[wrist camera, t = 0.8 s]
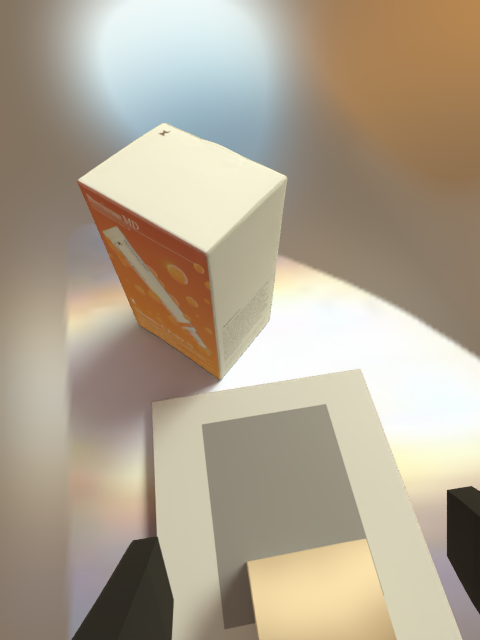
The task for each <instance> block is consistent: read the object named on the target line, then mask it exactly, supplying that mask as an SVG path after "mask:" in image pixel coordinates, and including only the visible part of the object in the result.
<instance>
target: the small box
mask: <svg viewBox="0 0 480 640" xmlns="http://www.w3.org/2000/svg"><path fill="white" fill-rule="evenodd" d="M77 182H78V185H79V187H80V189H81V191H82V194H83V196H84V198H85V200H86V202H87V205H88V207H89V210H90V212H91V214H92V217H93V219H94V221H95V224H96V226H97V228H98V231H99V233H100V235H101V238H102V240H103V242H104V245H105V247H106V249H107V252H108V254H109V256H110V259H111V261H112V264H113V266H114V268H115V271H116V273H117V275H118V277H119V280H120V282H121V284H122V287H123V289H124V291H125V294H126V296H127V298H128V301H129V303H130V306H131V308H132V310H133V313H134V315H135V317H136V320H137V322H138V324H139V325H140V326H142V327H143V328H145V329H147V330H148V331H150V332H152V333H153V334H155V335H156V336H158V337H159V338H161V339H162V340H164V341H165V342H167V343H168V344H169V345H171V346H172V347H174V348H175V349H177V350H178V351H180V352H181V353H183V354H184V355H186V356H187V357H188V358H190V359H191V360H193V361H194V362H196V363H197V364H198V365H200V366H201V367H203V368H204V369H205V370H207V371H208V372H210V373H211V374H212V375H214V376H215V377H217V378H218V379H220V380H221V379H222V378H223V377H224V376H225V375H226V373H227V372H228V371H229V370H230V368H231V367H232V366H233V365H234V363H235V362H236V361H237V360H238V359H239V357H240V356H241V355H242V354H243V352H244V351H245V350H246V349H247V347H248V346H249V345H250V344H251V343H252V341H253V340H254V339H255V338H256V336H257V335H258V334H259V333H260V332H261V330H262V329H263V328H264V327H265V325H266V324H267V323H268V322H269V319H270V313H271V305H272V297H273V289H274V281H275V272H276V263H277V255H278V246H279V239H280V230H281V222H282V221H281V220H282V213H283V206H284V197H285V190H286V183H287V177H286V176H285V175H282V174H280V173H278V172H276V171H274V170H272V169H269V168H267V167H265V166H263V165H260V164H258V163H256V162H254V161H251V160H249V159H247V158H245V157H243V156H241V155H239V154H237V153H235V152H233V151H231V150H229V149H227V148H225V147H223V146H221V145H218V144H216V143H213V142H209V141H206V140H204V139H201V138H198V137H196V136H194V135H192V134H189V133H187V132H184V131H182V130H180V129H177V128H175V127H173V126H171V125H169V124H166V123H163V124H161V125H159V126H157V127H156V128H154V129H152V130H151V131H149V132H148V133H146V134H144V135H143V136H141V137H140V138H138V139H137V140H135V141H134V142H132V143H131V144H129V145H128V146H127V147H125V148H123V149H122V150H120V151H119V152H118V153H116V154H115V155H113V156H112V157H110V158H109V159H108V160H106V161H104V162H103V163H101V164H100V165H98V166H97V167H96V168H94V169H93V170H91V171H90V172H88V173H87V174H86V175H84V176H83V177H81V178H80V179H78V181H77Z"/></svg>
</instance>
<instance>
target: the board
mask: <svg viewBox="0 0 480 640" xmlns="http://www.w3.org/2000/svg"><path fill="white" fill-rule="evenodd" d="M152 420H153V446H154V471H155V497H156V523H157V537H158V540H159V544H160V548H161V551H162V555H163V559H164V563H165V567H166V571H167V575H168V579H169V583H170V587H171V590H172V594H173V598H174V609H173V628H172V640H258V638H257V631H256V624H255V617H254V611H253V604H252V597H251V590H250V584H249V577H248V570H247V563H246V562H248V561H253V560H258V559H263V558H268V557H273V556H278V555H283V554H288V553H293V552H298V551H303V550H308V549H313V548H318V547H323V546H328V545H333V544H338V543H344V542H349V541H355V540H361V539H366V540H367V543H368V546H369V549H370V553H371V556H372V559H373V563H374V566H375V569H376V573H377V576H378V579H379V582H380V586H381V589H382V592H383V596H384V599H385V602H386V606H387V609H388V612H389V615H390V619H391V622H392V625H393V629H394V632H395V635H396V639H397V640H462V637H461V635H460V632H459V629H458V627H457V624H456V621H455V619H454V616H453V613H452V611H451V608H450V605H449V603H448V600H447V598H446V595H445V592H444V590H443V587H442V584H441V582H440V579H439V576H438V574H437V571H436V568H435V566H434V563H433V560H432V558H431V555H430V552H429V550H428V547H427V544H426V542H425V539H424V536H423V534H422V531H421V528H420V526H419V523H418V520H417V518H416V515H415V512H414V510H413V507H412V504H411V502H410V499H409V496H408V494H407V491H406V488H405V486H404V483H403V481H402V478H401V475H400V473H399V470H398V467H397V465H396V462H395V459H394V457H393V454H392V451H391V449H390V446H389V443H388V441H387V438H386V435H385V433H384V430H383V427H382V425H381V422H380V419H379V417H378V414H377V411H376V409H375V406H374V403H373V401H372V398H371V395H370V393H369V390H368V387H367V385H366V382H365V379H364V377H363V374H362V372H361V369H356V370H350V371H343V372H337V373H331V374H324V375H318V376H312V377H305V378H299V379H293V380H286V381H280V382H274V383H267V384H261V385H255V386H248V387H242V388H236V389H229V390H223V391H216V392H210V393H204V394H197V395H191V396H185V397H178V398H172V399H166V400H159V401H153V402H152Z"/></svg>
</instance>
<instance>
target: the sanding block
mask: <svg viewBox="0 0 480 640" xmlns="http://www.w3.org/2000/svg"><path fill="white" fill-rule="evenodd" d="M246 563H247V570H248V577H249V584H250V590H251V597H252V604H253V611H254V617H255V624H256V631H257V638H258V640H397V639H396V635H395V632H394V629H393V625H392V622H391V619H390V615H389V612H388V609H387V606H386V602H385V599H384V596H383V592H382V589H381V586H380V582H379V579H378V576H377V573H376V569H375V566H374V563H373V559H372V556H371V553H370V549H369V546H368V543H367V540H366V539H361V540H355V541H349V542H344V543H338V544H333V545H328V546H323V547H318V548H313V549H308V550H303V551H298V552H293V553H288V554H283V555H278V556H273V557H268V558H263V559H258V560H253V561H248V562H246Z"/></svg>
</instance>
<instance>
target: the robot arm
mask: <svg viewBox="0 0 480 640" xmlns="http://www.w3.org/2000/svg"><path fill="white" fill-rule="evenodd" d="M447 557H448V559H449V561H450V562H451V564H452V566H453V568H454V570H455V572H456V574H457V576H458V578H459V580H460V581H461V583H462V585H463V587H464V589H465V590H466V592H467V594H468V596H469V598H470V599H471V601H472V603H473V605H474V606H475V608H476V609H477V611H478V612H479V614H480V491H479V490H477V489H475V488H474V487H472V486H470V487H463V488H457V489H451V490H447ZM173 609H174V598H173V594H172V590H171V587H170V583H169V579H168V575H167V571H166V567H165V563H164V559H163V555H162V551H161V548H160V544H159V540H158V537H152V538H146V539H139V540H133V541H132V543H131V544H130V545H129V547H128V549H127V550H126V552H125V554H124V555H123V557H122V559H121V560H120V562H119V564H118V566H117V567H116V569H115V571H114V572H113V574H112V576H111V577H110V579H109V581H108V582H107V584H106V586H105V587H104V589H103V591H102V592H101V594H100V596H99V597H98V599H97V600H96V602H95V604H94V605H93V607H92V608H91V610H90V612H89V613H88V615H87V616H86V618H85V619H84V621H83V623H82V624H81V626H80V627H79V629H78V630H77V632H76V634H75V635H74V637H73V638H72V640H172V628H173Z"/></svg>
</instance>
